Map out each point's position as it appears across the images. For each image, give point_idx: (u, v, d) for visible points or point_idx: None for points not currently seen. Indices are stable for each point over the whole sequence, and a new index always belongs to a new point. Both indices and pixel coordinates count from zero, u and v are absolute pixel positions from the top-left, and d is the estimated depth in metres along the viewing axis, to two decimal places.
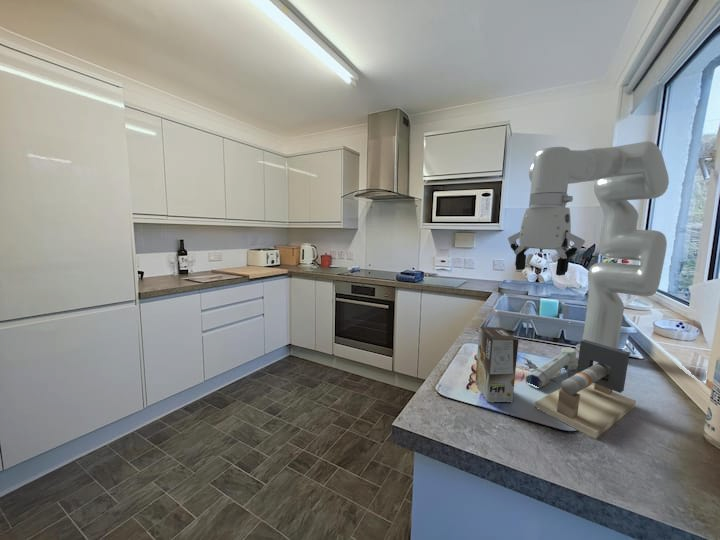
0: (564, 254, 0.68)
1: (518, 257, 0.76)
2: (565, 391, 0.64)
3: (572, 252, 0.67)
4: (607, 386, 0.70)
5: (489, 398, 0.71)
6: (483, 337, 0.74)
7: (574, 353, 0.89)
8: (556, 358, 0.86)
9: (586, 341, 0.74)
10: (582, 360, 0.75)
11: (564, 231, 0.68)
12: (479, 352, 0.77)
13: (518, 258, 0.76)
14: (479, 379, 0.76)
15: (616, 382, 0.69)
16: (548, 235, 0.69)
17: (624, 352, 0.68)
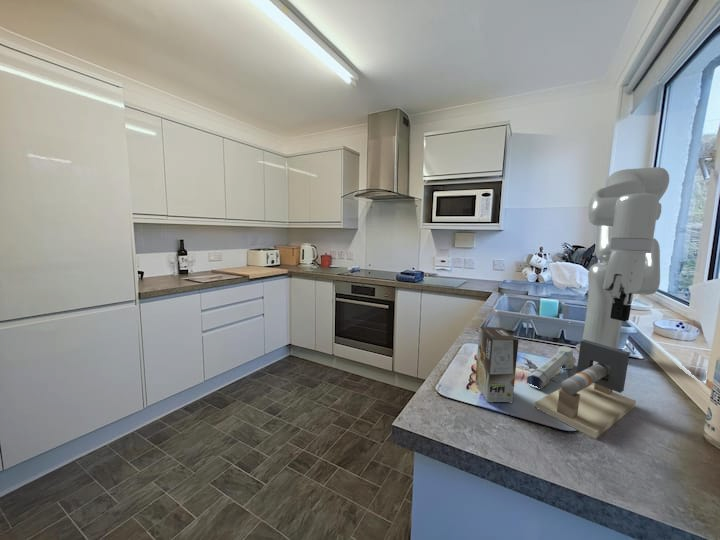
0: (630, 301, 0.73)
1: (628, 308, 0.72)
2: (565, 391, 0.64)
3: None
4: (607, 386, 0.70)
5: (489, 398, 0.71)
6: (483, 337, 0.74)
7: (571, 352, 0.89)
8: (554, 358, 0.86)
9: (586, 341, 0.74)
10: (582, 360, 0.75)
11: None
12: (479, 352, 0.77)
13: (628, 309, 0.72)
14: (479, 379, 0.76)
15: (616, 382, 0.69)
16: (641, 279, 0.72)
17: (624, 352, 0.68)
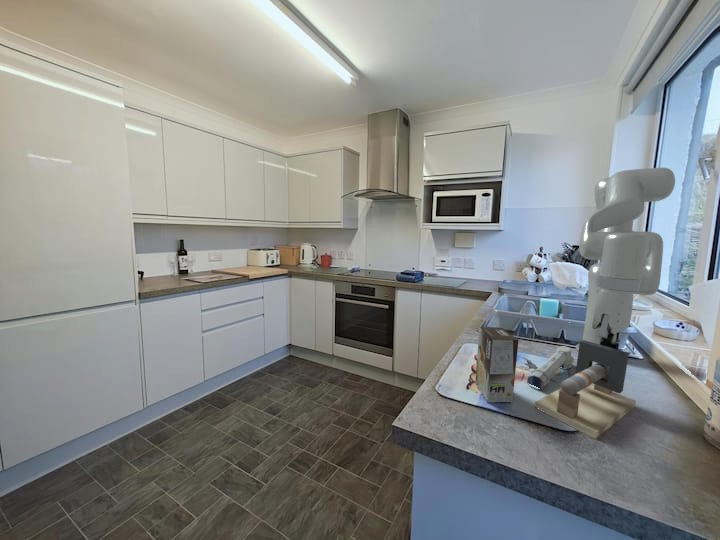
0: (618, 339, 0.72)
1: (616, 347, 0.71)
2: (565, 391, 0.64)
3: None
4: (606, 387, 0.70)
5: (489, 398, 0.71)
6: (483, 337, 0.74)
7: (569, 352, 0.90)
8: (554, 357, 0.86)
9: (585, 341, 0.74)
10: (581, 360, 0.74)
11: None
12: (479, 352, 0.77)
13: (616, 348, 0.71)
14: (479, 379, 0.76)
15: (615, 383, 0.69)
16: (629, 317, 0.71)
17: (623, 352, 0.68)
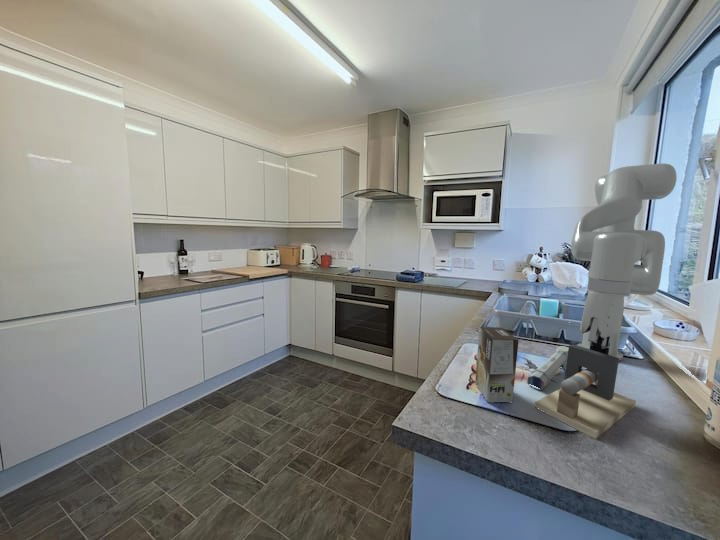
0: (609, 343, 0.69)
1: (606, 351, 0.68)
2: (565, 391, 0.64)
3: None
4: (596, 393, 0.67)
5: (489, 398, 0.71)
6: (483, 337, 0.74)
7: None
8: (553, 358, 0.86)
9: (574, 346, 0.71)
10: (570, 366, 0.71)
11: None
12: (479, 352, 0.77)
13: (606, 352, 0.68)
14: (479, 379, 0.76)
15: (605, 389, 0.66)
16: (619, 321, 0.68)
17: (613, 358, 0.65)
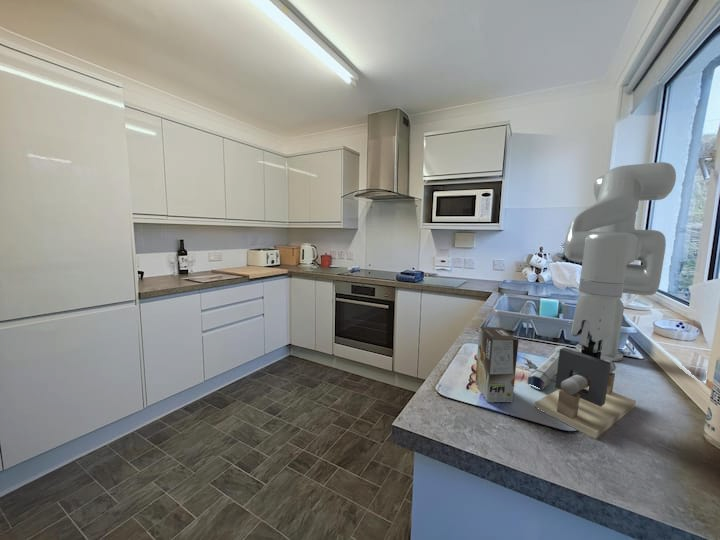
0: (601, 347, 0.67)
1: (598, 356, 0.66)
2: (565, 391, 0.64)
3: None
4: (587, 399, 0.65)
5: (489, 398, 0.71)
6: (483, 337, 0.74)
7: None
8: (553, 357, 0.86)
9: (565, 349, 0.69)
10: (561, 370, 0.69)
11: None
12: (479, 352, 0.77)
13: (598, 357, 0.66)
14: (479, 379, 0.76)
15: (596, 395, 0.63)
16: (612, 324, 0.66)
17: (605, 362, 0.62)
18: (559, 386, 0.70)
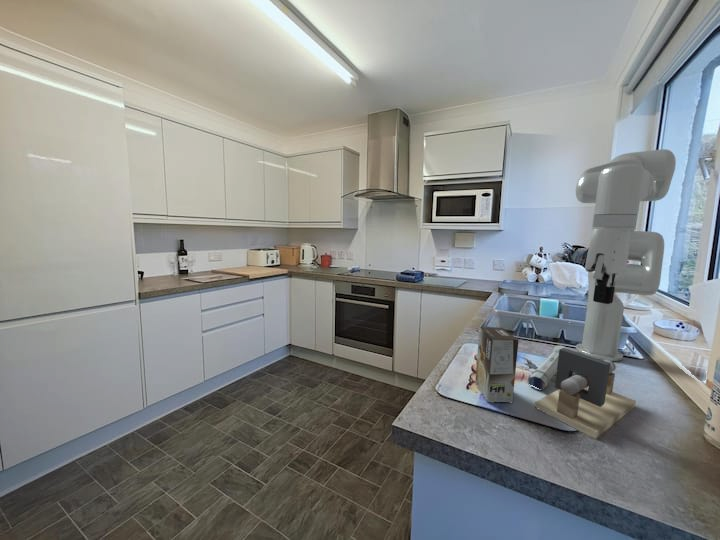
0: (614, 282, 0.68)
1: (612, 290, 0.67)
2: (565, 391, 0.64)
3: None
4: (587, 399, 0.65)
5: (489, 398, 0.71)
6: (483, 337, 0.74)
7: None
8: (552, 357, 0.86)
9: (565, 349, 0.69)
10: (561, 370, 0.69)
11: None
12: (479, 352, 0.77)
13: (612, 291, 0.67)
14: (479, 379, 0.76)
15: (596, 395, 0.63)
16: (625, 258, 0.67)
17: (604, 362, 0.62)
18: (559, 386, 0.69)
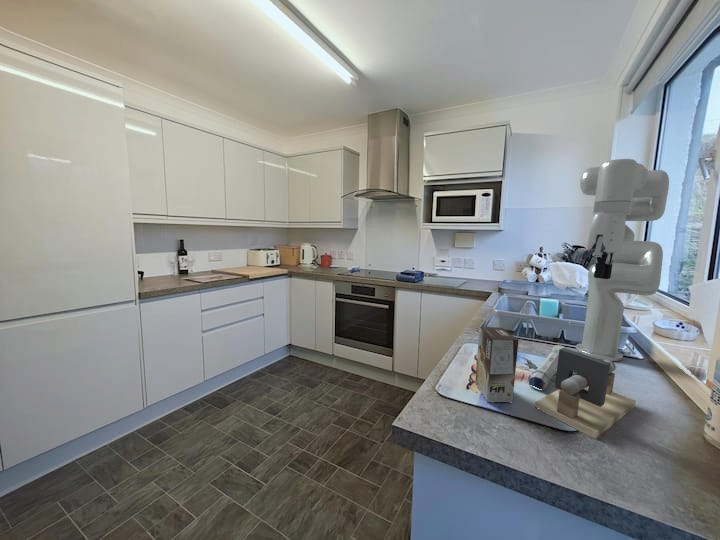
0: (612, 261, 0.79)
1: (610, 267, 0.78)
2: (565, 391, 0.64)
3: None
4: (587, 399, 0.65)
5: (489, 398, 0.71)
6: (483, 337, 0.74)
7: None
8: (551, 357, 0.86)
9: (565, 349, 0.69)
10: (561, 370, 0.69)
11: None
12: (479, 352, 0.77)
13: (610, 268, 0.78)
14: (479, 379, 0.76)
15: (596, 395, 0.63)
16: (621, 240, 0.78)
17: (604, 362, 0.62)
18: (559, 386, 0.69)
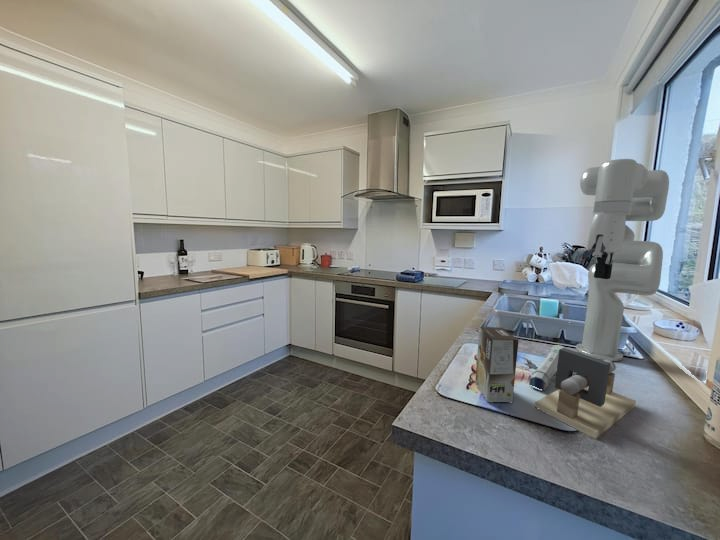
0: (612, 261, 0.79)
1: (610, 267, 0.78)
2: (565, 391, 0.64)
3: None
4: (587, 399, 0.65)
5: (489, 398, 0.71)
6: (483, 337, 0.74)
7: None
8: (551, 357, 0.86)
9: (565, 349, 0.69)
10: (561, 370, 0.69)
11: None
12: (479, 352, 0.77)
13: (610, 268, 0.78)
14: (479, 379, 0.76)
15: (596, 395, 0.63)
16: (621, 240, 0.78)
17: (604, 362, 0.62)
18: (559, 386, 0.69)
